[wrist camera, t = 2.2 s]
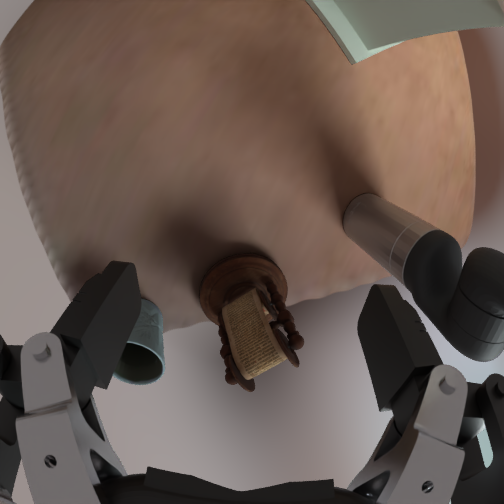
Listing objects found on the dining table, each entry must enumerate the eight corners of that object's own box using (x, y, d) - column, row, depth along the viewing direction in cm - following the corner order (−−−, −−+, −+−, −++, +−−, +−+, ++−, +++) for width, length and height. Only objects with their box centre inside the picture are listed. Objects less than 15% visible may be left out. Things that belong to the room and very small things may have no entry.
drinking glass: (118, 287, 44) (101, 333, 33) (173, 302, 47) (170, 350, 37) (113, 330, 48) (100, 376, 37) (162, 342, 51) (159, 390, 40)
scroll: (255, 232, 45) (295, 307, 27) (297, 293, 51) (342, 373, 33) (181, 282, 46) (178, 374, 28) (231, 333, 53) (250, 421, 35)
